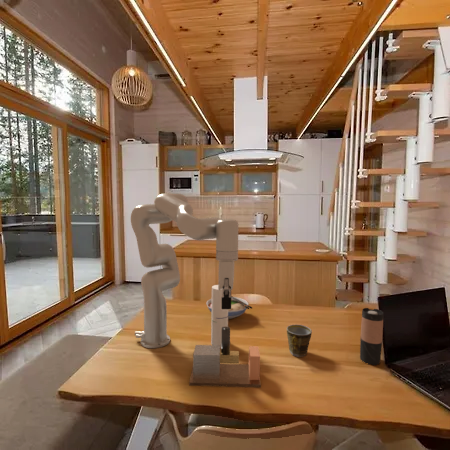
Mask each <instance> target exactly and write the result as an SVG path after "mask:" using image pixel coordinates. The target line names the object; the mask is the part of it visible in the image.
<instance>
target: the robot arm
mask: <svg viewBox="0 0 450 450" xmlns="http://www.w3.org/2000/svg"><path fill="white" fill-rule="evenodd" d="M193 214H194V209H193V206H192V205H191V204H190V202H189V200H188V198H187V197H186V196H185V195H184V194H181V193H170V192H165V193H161V194H159V195H157V196H156V197H155V198H154V203H153V204H151V203H150V204H149V203H147V204H139V205H137V206H135V207H134V208H133V209H132V211H131V214H130V224H131V228H132V230H133V234H135V239H136V244H137V249H138V253H139V258H140V262H141V265H142V266H143V267H144V268H147V269H149V268H155V267H160V266H161V267H162V268H159V269H154V270H150V271H147V272H145V273H144V274H143V275H142V277H141V280H140V283H141V289H142V295H143V330H142V331H140V330H138V331H137V330H135V331H134V336H135V339H140V345H141V346H142V347H144V348H147V349H159V348H162V347H165V346H167V345H168V344H169V343H170V342H171V337H170V335H168V333H167V332H168V331H167V330H168V329H167V324H168V323H167V318H168V317H167V316H168V315H167V300H166V297H165V296H164V294H163V292H164V291H167V290H170V289H173V288H176V287H178V285H179V284H180V280H181V274H180V270H179V265H178V259H177V255H176V251H175V249H174V248H173V246H172V245H170V244H169V243H159V242H158V238H157V236H158V235H157V234H156V232H155V230H154V229H153V228H152V227H151V226H150V225H159V224H167V223H170V222H172V221H174V222H175V224H176V226H177V228H178V230H179V231H180V232H181V234H184V235H185V236H186V237H188V238H190V239H192V240H195V241H205V240H212V239H215V240H216V241H215V252H216V253H215V260H216V261H218V284H217V285H218V289H219V290H220V289H222V309H231V297H232V290H233V289H234V282H235V280H234V278H235V262H236V261H238V260H239V222H238V220H236V219H233V218H231V219H230V218H224V219H223V218H222V217H221V218H220V217H200V218H198V217H195V216H194V215H193Z"/></svg>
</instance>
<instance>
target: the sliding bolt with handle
mask: <svg viewBox="0 0 450 450" xmlns="http://www.w3.org/2000/svg"><path fill="white" fill-rule="evenodd" d="M220 364H240V351H239V350H231V327H230V326H228V327H222V341H221V347H220Z"/></svg>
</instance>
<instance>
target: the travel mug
mask: <svg viewBox="0 0 450 450" xmlns="http://www.w3.org/2000/svg"><path fill="white" fill-rule="evenodd" d="M360 326H361V327H360V339H359V340H360V342H359V343H360V345H359V347H360V348H359V358H360V361H361V360H362V361H361V362H363V361H364V362H365V363H364V362H363V363H364V364H366V363H368V364H367V365H369V364H372V365H371V366H378V365H380V364H379V363H381V356H382V348H383V347H382V345H383V335H384V334H383V332H384V329H383V328H384V311H383V310H380V309H377V308H374V309H370V308H369V307H365V308H362V311H361V325H360ZM377 364H378V365H377Z"/></svg>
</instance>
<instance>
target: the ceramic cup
mask: <svg viewBox="0 0 450 450" xmlns="http://www.w3.org/2000/svg"><path fill="white" fill-rule="evenodd" d="M312 333H313V332H312V329H311V328H310V327H308V326H306V325H302V324H290V325H288V326H287V327H286V336H287V341H288V350H289V353H290V354H291V355H292V356H293V357H297V358H303V357H304V356H305V357H306V356H307V354H308V350H309V346H310V341H311V337H312Z"/></svg>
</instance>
